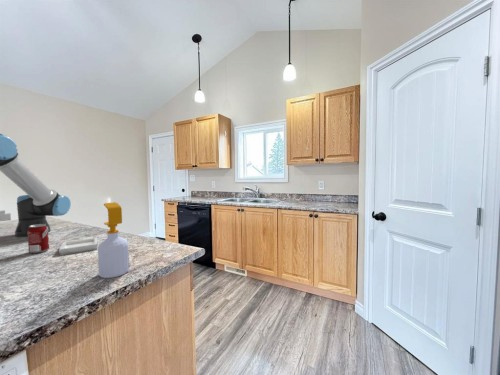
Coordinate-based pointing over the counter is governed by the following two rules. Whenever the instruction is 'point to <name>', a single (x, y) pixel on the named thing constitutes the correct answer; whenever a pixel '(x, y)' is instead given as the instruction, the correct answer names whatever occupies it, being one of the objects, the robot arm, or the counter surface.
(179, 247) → the counter surface
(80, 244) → the square tray
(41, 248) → the soda can
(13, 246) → the counter surface
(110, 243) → the soap bottle
